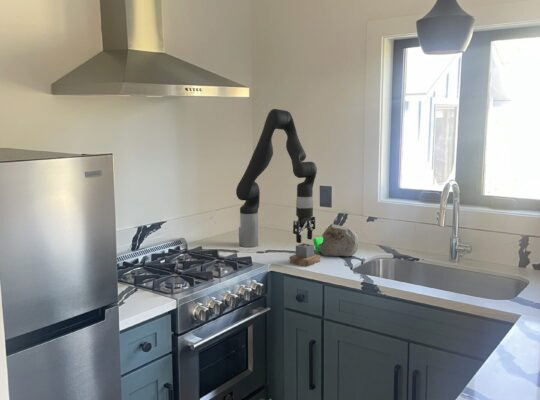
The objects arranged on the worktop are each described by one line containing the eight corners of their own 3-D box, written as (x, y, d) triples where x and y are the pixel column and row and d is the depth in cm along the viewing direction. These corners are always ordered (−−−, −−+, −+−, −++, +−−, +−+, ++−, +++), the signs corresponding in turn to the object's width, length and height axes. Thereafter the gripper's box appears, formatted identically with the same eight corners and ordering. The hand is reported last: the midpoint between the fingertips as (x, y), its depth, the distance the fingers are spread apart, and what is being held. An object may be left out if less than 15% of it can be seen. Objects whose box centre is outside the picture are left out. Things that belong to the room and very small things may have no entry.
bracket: (342, 252, 283) (338, 239, 285) (352, 246, 275) (348, 233, 277) (309, 257, 273) (305, 244, 275) (319, 251, 265) (315, 237, 267)
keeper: (289, 263, 249) (289, 245, 248) (302, 258, 257) (302, 241, 256) (307, 266, 243) (307, 249, 242) (320, 261, 251) (320, 244, 250)
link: (295, 256, 249) (295, 245, 249) (303, 253, 254) (303, 243, 253) (306, 258, 246) (306, 247, 245) (314, 255, 250) (314, 244, 250)
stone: (359, 254, 262) (359, 224, 260) (357, 258, 256) (357, 227, 253) (321, 252, 268) (321, 222, 266) (317, 256, 261) (318, 225, 259)
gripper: (306, 203, 254) (306, 236, 256) (288, 207, 243) (288, 242, 246) (320, 204, 249) (319, 239, 252) (302, 209, 238) (301, 245, 241)
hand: (304, 241), depth 249 cm, fingers open, 8 cm apart
